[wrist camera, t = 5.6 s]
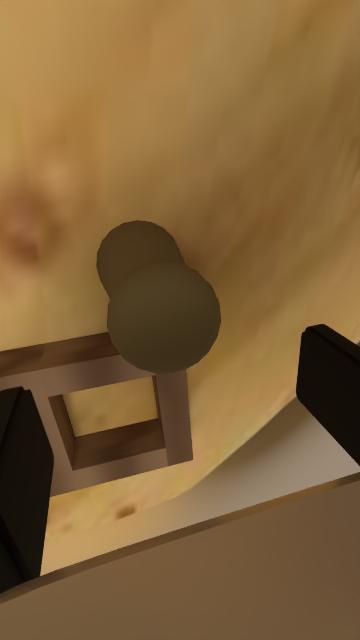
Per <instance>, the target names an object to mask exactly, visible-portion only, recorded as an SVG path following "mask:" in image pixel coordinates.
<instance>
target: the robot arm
mask: <svg viewBox="0 0 360 640" xmlns="http://www.w3.org/2000/svg"><path fill="white" fill-rule="evenodd" d="M296 395H297V397H298V399H299V401H300V402H301V403H302V404H303V405H304V406H305V407H306V408H307V409H308V410H309V412H310V413H311V414H312V415H313V416H314V417H315V418H316V419H317V420H318V421H319V422H320V424H321V425H322V426H323V427H324V428H325V429H326V430H327V431H328V432H329V433H330V434H331V435H332V437H333V438H334V439H335V440H336V441H337V442H338V443H339V444H340V445H341V446H342V447H343V448H344V449H345V451H346V452H347V453H348V454H349V455H350V456H351V457H352V458H353V459H354V460H355V461H356V463H358V465H359V466H360V347H359V346H358V345H356V344H355V343H353V342H351V341H350V340H348V339H347V338H345V337H344V336H342V335H341V334H339V333H337V332H336V331H334V330H333V329H331V328H330V327H328V326H327V325H325V324H319V325H314V326H309V327H307V328H306V329H305V332H303V333H302V336H301V346H300V355H299V365H298V375H297V385H296ZM53 468H54V454H53V450H52V448H51V445H50V442H49V439H48V436H47V434H46V431H45V428H44V425H43V422H42V420H41V417H40V414H39V411H38V408H37V406H36V403H35V400H34V397H33V394H32V392H31V390H30V389H27V390H24V388H23V387H22V386H19V387H14V388H9V389H4V390H1V391H0V640H360V472H358V473H355V474H352V475H349V476H346V477H343V478H339V479H336V480H333V481H329V482H326V483H323V484H320V485H317V486H313V487H310V488H307V489H304V490H301V491H298V492H294V493H291V494H288V495H285V496H282V497H279V498H275V499H272V500H269V501H266V502H263V503H259V504H256V505H253V506H250V507H247V508H244V509H241V510H237V511H234V512H231V513H228V514H225V515H222V516H219V517H215V518H213V519H209V520H206V521H203V522H200V523H197V524H194V525H191V526H188V527H185V528H181V529H178V530H175V531H172V532H169V533H166V534H163V535H160V536H157V537H154V538H151V539H147V540H144V541H141V542H138V543H135V544H132V545H129V546H126V547H123V548H120V549H117V550H114V551H111V552H108V553H105V554H102V555H99V556H96V557H93V558H90V559H88V560H84V561H81V562H79V563H76V564H73V565H70V566H67V567H64V568H61V569H58V570H55V571H53V572H50V573H48V574H45V575H43V576H40V572H41V564H42V556H43V548H44V540H45V532H46V524H47V516H48V508H49V500H50V492H51V484H52V476H53Z"/></svg>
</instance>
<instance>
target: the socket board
mask: <svg viewBox="0 0 360 640" xmlns="http://www.w3.org/2000/svg"><path fill="white" fill-rule="evenodd" d="M148 376H152V378H153V385H154V392H155V399H156V406H157V413H158V419H154V420H150V421H145V422H141V423H137V424H132V425H128V426H124V427H119V428H115V429H111V430H106V431H102V432H98V433H93V434H89V435H85V436H80V437H76V438H75V436H74V432H73V429H72V426H71V423H70V420H69V417H68V413H67V410H66V407H65V404H64V401H63V397H62V394H65V393H70V392H75V391H80V390H85V389H90V388H94V387H99V386H104V385H109V384H114V383H119V382H123V381H128V380H133V379H138V378H143V377H148ZM19 386H22V387H23V388H24V390H27V389H30V390H31V392H32V394H33V397H34V400H35V403H36V406H37V408H38V411H39V414H40V417H41V420H42V422H43V425H44V428H45V431H46V434H47V436H48V439H49V442H50V445H51V448H52V450H53V454H54V468H53V476H52V484H51V492H50V497H52V496H56V495H60V494H63V493H67V492H71V491H75V490H79V489H83V488H86V487H90V486H94V485H98V484H102V483H106V482H110V481H113V480H117V479H121V478H125V477H129V476H133V475H136V474H140V473H144V472H148V471H152V470H156V469H160V468H163V467H167V466H171V465H175V464H179V463H183V462H186V461H190V460H193V451H192V439H191V427H190V415H189V402H188V390H187V378H186V369H185V370H182V371H178V372H174V373H171V374H156V373H152V372H148V371H145V370H141V369H138V368H136V367H135V366H133V365H132V364H130V363H129V362H127V361H126V360H124V358H123V357H122V356H121V354H120V353H119V352H118V350H117V349H116V348H115V346H114V345H113V343H112V341H111V338H110V334H109V333H103V334H97V335H92V336H86V337H81V338H75V339H69V340H64V341H58V342H52V343H47V344H41V345H35V346H30V347H24V348H19V349H13V350H7V351H2V352H0V391H1V390H4V389H9V388H14V387H19Z"/></svg>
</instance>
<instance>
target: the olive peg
mask: <svg viewBox="0 0 360 640" xmlns="http://www.w3.org/2000/svg"><path fill="white" fill-rule="evenodd" d="M96 267H97V270H98V274H99V277H100V280H101V282H102V284H103V286H104V288H105V290H106V292H107V294H108V296H109V298H110V302H109V304H108V316H107V327H108V331H109V334H110V338H111V341H112V343H113V345H114V346H115V348H116V349H117V350H118V352H119V353H120V354H121V356H122V357H123V358H124V360H126V361H127V362H129V363H130V364H132V365H133V366H135V367H136V368H138V369H141V370H145V371H148V372H152V373H156V374H171V373H174V372H178V371H182V370H185V369H187V368H189V367H191V366H192V365H194V364H196V363H198V362H199V361H200V360H201V359H202V358H203V357H204V356H205V355H206V354H207V353H208V352H209V350H210V349H211V347H212V345H213V343H214V342H215V340H216V338H217V336H218V332H219V328H220V323H221V315H220V305H219V301H218V299H217V297H216V294H215V292H214V290H213V288H212V286H211V285H210V284H209V283H208V282H207V281H206V280H205V279H204V278H203V277H202V276H201V275H200V274H199V273H198V272H197V271H196V270H193V269H191V268H189V267H187V266H185V263H184V261H183V258H182V256H181V253H180V251H179V248H178V247H177V245H176V243H175V241H174V239H173V237H172V236H171V235H170V234H169V233H168V232H167V231H166V230H165V229H164V228H162V227H160V226H158V225H156V224H154V223H152V222H146V221H139V220H137V221H132V222H127V223H123V224H121V225H120V226H118V227H116V228H114V229H113V230H111V231H110V232H109V234H108V235H107V236H106V237H105V238H104V239H103V240H102V243H101V245H100V248H99V250H98V252H97V266H96Z"/></svg>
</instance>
